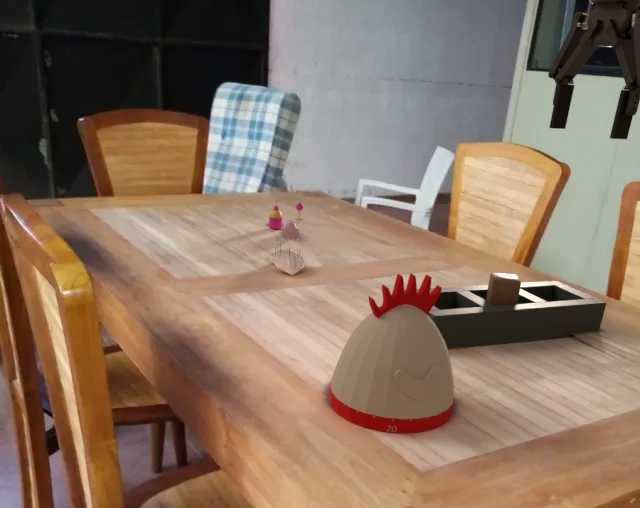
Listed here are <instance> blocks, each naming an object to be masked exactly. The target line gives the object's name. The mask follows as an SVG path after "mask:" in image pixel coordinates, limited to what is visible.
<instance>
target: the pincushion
mask: <svg viewBox="0 0 640 508" xmlns="http://www.w3.org/2000/svg"><path fill="white" fill-rule="evenodd" d="M296 238H297V237H295V239H294V240H296ZM301 238H302V237H300V238H299V241H301V240H302V239H301ZM285 239H288V238H287V237H286V236H285ZM277 240H279V237H278V238H277ZM279 246H280V248H279V249H277V248H274V249H275V251H272V252H271V253H270V255H269V257H268V259H269V260H270V262H271V263H272V264H274V266H275V267H276V268H277V269H279V270H282V271H283V272H285V273H287V274H289V275H290V276H291V275H293V276H294V275H295V274H297V273H298V272H300V270H302V269H304V267H305V258H304V257H303V256H302V254H301V250H297V251H296V250H292V249H291V248H286V247H285V248H284V247H283V248H282V244H280V245H279Z"/></svg>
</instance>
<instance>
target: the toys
mask: <svg viewBox="0 0 640 508" xmlns="http://www.w3.org/2000/svg"><path fill="white" fill-rule="evenodd" d="M279 209H280V208H279V206H278V205H277V199H275V205H274V206H273V209H272V210H271V211H270V212H269V215H268V227H269V229H271V230H281V229H282V228H283V233H284V235H285V238H286V237H287V238H286V239H288V240H296V239H295V237H296V238H297V237H298V235H299V229H298V227H297V224H296V222H295V221H293V220H291V219H288V220H286V221H284V223H283V214H282V212H281V210H279ZM295 209H296V210H297V211H298V216H297V217H298V218H297V223H298V224H299V223H300V219H301V218H300V217H301V211H302V210H303V209H304V204H303V203H302V202H297V203H296V205H295Z"/></svg>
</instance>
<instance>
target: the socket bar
mask: <svg viewBox="0 0 640 508" xmlns="http://www.w3.org/2000/svg"><path fill="white" fill-rule="evenodd" d="M488 285H489V284H480V285H479V284H478V285H477V284H476V285H461V286H445V287H442V290H441V293H440V295H439V297H438V298H437V300H436V302H435V304H434V305H433V307H432V309H431V310H430V312H429V314H428V316H429V317H430V318H431V319H432V321H433V322H434V323H435V325H436V326H437V328H438V330H439V331H441V335H442V337H443V339H444V340H445V343H446V346H447V349H448V350H451V349H453V350H455V349H463V348H475V347H483V346H494V345H505V344H514V343H524V342H533V341H545V340H553V339H563V338H565V339H566V338H574V337H576V335H575V334H577V333H578V334H580V333H589V332H599V331H600V329H601V327H602V322H603V319H604V314H605V312H606V311H605V310H606V308H607V304H608V303H607V301H604V300H602V299H600V298H598V297H595V296H592V295H591V294H588V293H585V292H583V291H581V290H579V289H577V288H574V287H572V286H570V285H568V284H565V283H563V282H560V281H558V280H544V281H529V282H521V286H520V291H519V295H518V300H517V304H513V305H499V306H495V305H493V304H492V303H490V302H488V301H486V296H487V290H488ZM434 288H435V287H431V289H430V293H431V292H432V291H433V290H434ZM419 289H420V288H417V292H418V291H419ZM405 291H406V289H404V293H405Z"/></svg>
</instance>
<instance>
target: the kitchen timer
mask: <svg viewBox="0 0 640 508" xmlns="http://www.w3.org/2000/svg"><path fill="white" fill-rule="evenodd" d="M420 284H421V285H420V287H419V288H418V287H417V277H416V275H415V274H413V273H410V274H409V276H408V280H407V284H406V287H405V281H404V276H403V275H401V274H400V273H397V274H396V277H395V282H394V284H393V290H392V293H391V291H390V289H389V288H388V286H386V285H385V284H382V285H381V293H382V304H381V305H380V306H378V304H377V302H376V301H375V299H374V298H373V297H372V296H370V295H369V296H368V303H369V306H370V310H371V313H369V314H367V316H366V317H365V318H363V319H362V321H360V323H359V324H358V325H357V326H356V327H355V328H354V329H353V331H352V333H351V334H350V336H349V338H348V339H347V341H346V343H345V344H344V347H343V349H342V351H341V354H340V355H339V358H338V360H337V363H336V365H335V368H334V370H333V372H332V377H331V381H330V386H329V396H328V397H329V403H330V407H331V408H332V409H333V410H334V412H335V413H336V415H338V416H340V417H341V418H343V419H345V420H346V421H348V422H350V423H352V424H354V425H357V426H360V427H362V428H365V429H370V430H374V431H379V432H383V433H395V434H413V433H415V434H416V433H422V432H427V431H430V430H431V431H432V430H435V429H437V428H439V427H441V426H444V425H445V424H446V423H447V422H448V420H450V418H451V416H452V412H453V411H452V409H453V404H454V395H455V383H454V375H453V369H452V368H453V367H452V362H451V357H450V352H449V349H447V346H446V343H445V340H444V339H443V337H442V335H441V331H439V330H438V328H437V326H436V325H435V323H434V322H433V321H432V319H431V318H430V317H429V316H428V314H429V312H430V310H431V309H432V307H433V305H434V304H435V302H436V300H437V298H438V297H439V295H440V293H441V290H442V288H443V287H442V286H440V285H438V284H437V285H436V286H435V287H433V288H434V290H433V291H432V292H431V293H430V289H431V288H432V276H430V275H428V274H425V275H424V278H423V280H422V282H421V283H420ZM417 289H419V291H418V292H417ZM404 290H406V291H405V293H404Z"/></svg>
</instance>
